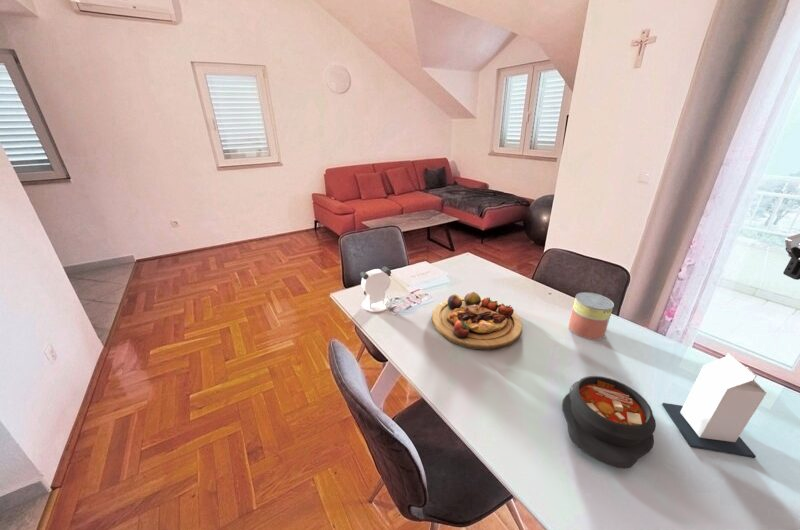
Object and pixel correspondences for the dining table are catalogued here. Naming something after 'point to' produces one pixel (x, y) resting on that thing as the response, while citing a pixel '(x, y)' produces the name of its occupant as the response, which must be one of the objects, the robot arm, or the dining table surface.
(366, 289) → the panda figurine
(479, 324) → the wooden plate
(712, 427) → the milk carton
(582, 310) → the canned food
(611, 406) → the casserole
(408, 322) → the dining table surface
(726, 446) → the mat
